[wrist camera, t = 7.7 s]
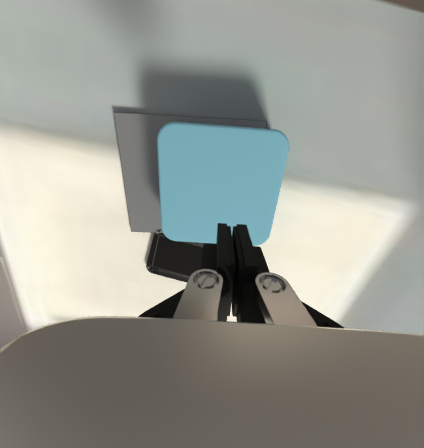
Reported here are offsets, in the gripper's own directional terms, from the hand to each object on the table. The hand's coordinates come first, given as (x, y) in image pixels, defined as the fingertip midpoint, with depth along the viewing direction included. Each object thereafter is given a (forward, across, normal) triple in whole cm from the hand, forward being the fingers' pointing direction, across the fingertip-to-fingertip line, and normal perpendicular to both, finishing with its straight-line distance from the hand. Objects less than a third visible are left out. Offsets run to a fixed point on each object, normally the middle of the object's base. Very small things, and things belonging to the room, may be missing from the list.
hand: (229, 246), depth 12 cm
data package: (+12, -6, 0) cm, 13 cm away
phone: (+15, +2, +12) cm, 19 cm away
